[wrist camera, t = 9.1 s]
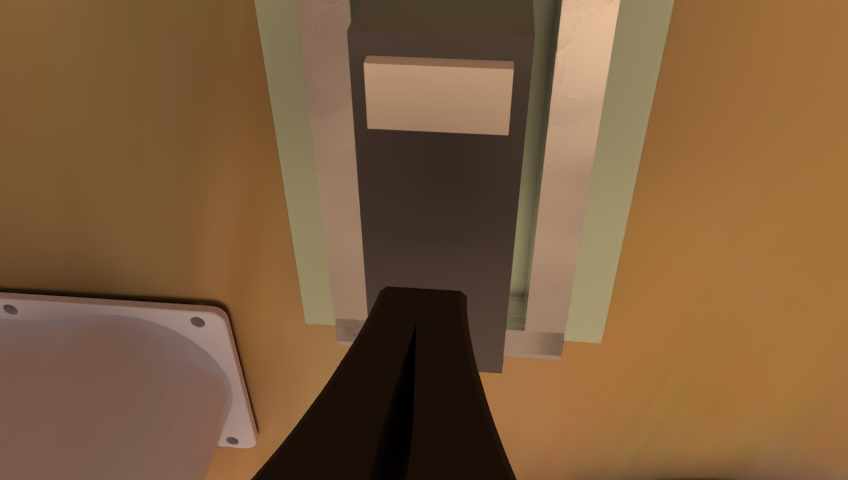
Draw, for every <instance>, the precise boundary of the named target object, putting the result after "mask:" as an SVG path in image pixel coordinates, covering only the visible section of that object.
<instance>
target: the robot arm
mask: <svg viewBox="0 0 848 480" xmlns="http://www.w3.org/2000/svg"><path fill="white" fill-rule="evenodd" d="M198 317H199V318H201V319H199V318H198ZM257 440H258V433H257V429H256V425H255V421H254V417H253V413H252V409H251V405H250V401H249V397H248V393H247V390H246V386H245V382H244V378H243V374H242V370H241V366H240V362H239V358H238V354H237V350H236V346H235V342H234V338H233V334H232V330H231V326H230V322H229V318H228V316H227V314H226V312H224V311H223V310H222V309H220V308H218V307H215V306H203V305H188V304H173V303H157V302H142V301H126V300H111V299H96V298H80V297H65V296H49V295H34V294H19V293H3V292H0V480H205V477H206V474H207V472H208V469H209V466H210V464H211V461H212V458H213V456H214V453H215V450H216V448H217V446H224V447H237V448H251V447H254V446H255V445H256V443H257ZM251 480H516V477H515V475H514V473H513V470H512V468H511V465H510V463H509V461H508V458H507V456H506V453H505V451H504V448H503V445H502V443H501V440H500V437H499V435H498V432H497V429H496V426H495V424H494V421H493V418H492V415H491V412H490V409H489V406H488V403H487V400H486V396H485V393H484V389H483V386H482V383H481V379H480V376H479V372H478V369H477V365H476V361H475V357H474V352H473V347H472V342H471V337H470V331H469V324H468V315H467V296H466V295H465V294H464V293H463V292H462V291H456V290H440V289H424V288H408V287H391V286H386V287H385V288H384V289H382V290H381V291H380V292H379V295H378V297H377V299H376V301H375V303H374V306H373V308H372V310H371V312H370V314H369V315H368V317H367V319H366V321H365V323H364V325H363V327H362V328H361V330H360V332H359V334H358V335H357V337H356V339H355V340H354V342H353V344H352V345H351V347H350V349H349V350H348V352H347V354H346V355H345V357H344V358H343V360H342V361H341V363H340V364H339V366H338V367H337V369H336V371H335V372H334V374H333V375H332V377H331V378H330V380H329V381H328V383H327V384H326V386H325V387H324V389H323V390H322V391H321V393H320V394H319V396H318V397H317V398H316V400H315V401H314V402H313V404H312V405H311V406H310V408H309V409H308V410H307V412H306V413H305V415H304V416H303V417H302V419H301V420H300V421H299V423H298V424H297V425H296V427H295V428H294V429H293V431H292V432H291V433H290V434H289V436H288V437H287V438H286V439H285V441H284V442H283V443H282V444H281V445H280V447H279V448H278V449H277V450H276V451H275V453H274V454H273V455H272V456H271V457H270V459H269V460H268V461H267V462H266V463H265V464H264V465H263V467H262V468H261V469H260V470H259V471H258V472H257V474H256V475H255V476H254V477H253V478H252V479H251Z"/></svg>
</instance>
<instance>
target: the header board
mask: <svg viewBox="0 0 848 480" xmlns="http://www.w3.org/2000/svg"><path fill="white" fill-rule="evenodd" d="M254 1H255V7H256V14H257V20H258V26H259V33H260V39H261V45H262V52H263V58H264V64H265V70H266V77H267V83H268V89H269V96H270V102H271V108H272V115H273V121H274V127H275V134H276V140H277V146H278V152H279V159H280V165H281V171H282V178H283V184H284V190H285V197H286V203H287V209H288V216H289V222H290V228H291V234H292V241H293V247H294V253H295V260H296V266H297V272H298V279H299V285H300V291H301V298H302V304H303V310H304V316H305V323H306V324H318V325H333V326H336V334H337V342H338V345H343V346H351V345H352V344H353V342H354V340H355V339H356V337H357V335H358V334H359V332H360V330H361V328H362V327H363V325H364V323H365V321H366V319H367V317H368V313H367V300H366V286H365V272H364V259H363V245H362V232H361V218H360V204H359V191H358V177H357V163H356V150H355V136H354V122H353V109H352V95H351V81H350V68H349V54H348V40H347V30H348V27H349V25H350V23H351V21H352V19H353V16H354V14H355V12H356V10H357V7H358V5H359V3H360V1H361V0H254ZM673 5H674V0H533V11H534V31H535V42H534V52H533V62H532V73H531V83H530V93H529V103H528V113H527V123H526V133H525V143H524V153H523V164H522V174H521V184H520V194H519V204H518V214H517V224H516V234H515V245H514V255H513V265H512V275H511V285H510V295H509V305H508V315H507V325H506V336H505V346H504V356H503V357H518V358H533V359H547V360H561V354H562V348H563V342H564V341H575V342H590V343H601V342H602V337H603V332H604V328H605V323H606V318H607V314H608V309H609V304H610V300H611V295H612V290H613V285H614V281H615V276H616V271H617V267H618V262H619V257H620V253H621V248H622V243H623V239H624V234H625V229H626V225H627V220H628V215H629V211H630V206H631V201H632V197H633V192H634V187H635V183H636V178H637V173H638V168H639V164H640V159H641V154H642V150H643V145H644V140H645V136H646V131H647V126H648V122H649V117H650V112H651V108H652V103H653V98H654V94H655V89H656V84H657V80H658V75H659V70H660V66H661V61H662V56H663V51H664V47H665V42H666V37H667V33H668V28H669V23H670V19H671V14H672V9H673Z"/></svg>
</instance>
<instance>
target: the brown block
mask: <svg viewBox="0 0 848 480" xmlns="http://www.w3.org/2000/svg"><path fill="white" fill-rule="evenodd" d="M347 40H348V54H349V68H350V81H351V95H352V109H353V122H354V136H355V150H356V163H357V177H358V191H359V204H360V218H361V232H362V245H363V259H364V272H365V286H366V300H367V313H368V315H369V314H370V312H371V310H372V308H373V306H374V303H375V301H376V299H377V297H378V295H379V292H380V291H381V290H382V289H384V288H385V287H386V286H391V287H408V288H424V289H440V290H456V291H462V292H463V293H464V294H465V295H466V296H467V315H468V324H469V331H470V337H471V342H472V347H473V352H474V357H475V361H476V365H477V369H478V372H489V373H502V366H503V356H504V346H505V336H506V325H507V315H508V305H509V295H510V285H511V275H512V265H513V255H514V245H515V234H516V224H517V214H518V204H519V194H520V184H521V174H522V164H523V153H524V143H525V133H526V123H527V113H528V103H529V93H530V83H531V73H532V62H533V52H534V42H535V31H534V11H533V0H361V1H360V3H359V5H358V7H357V10H356V12H355V14H354V16H353V19H352V21H351V23H350V25H349V27H348V30H347Z"/></svg>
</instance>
